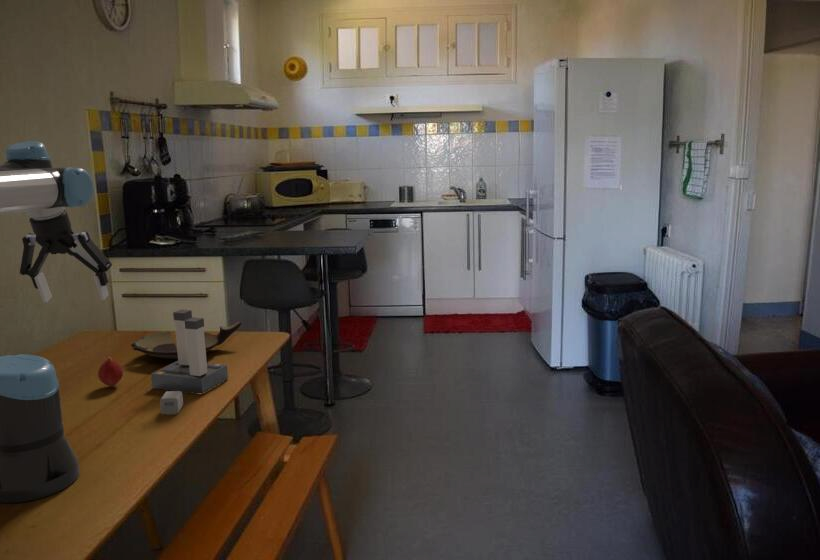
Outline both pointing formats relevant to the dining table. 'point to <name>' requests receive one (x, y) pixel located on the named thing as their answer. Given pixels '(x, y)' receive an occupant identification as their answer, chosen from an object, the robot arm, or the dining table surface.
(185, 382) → the console
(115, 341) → the dining table surface
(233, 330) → the broken bowl
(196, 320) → the grey square post
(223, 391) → the dining table surface
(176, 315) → the white capped post
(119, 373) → the onion
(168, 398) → the usb wall charger
